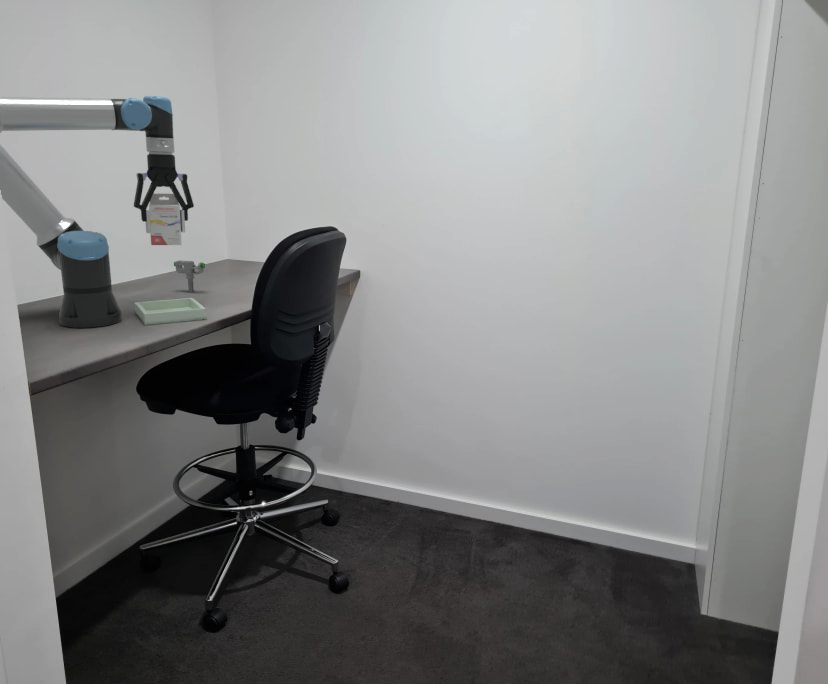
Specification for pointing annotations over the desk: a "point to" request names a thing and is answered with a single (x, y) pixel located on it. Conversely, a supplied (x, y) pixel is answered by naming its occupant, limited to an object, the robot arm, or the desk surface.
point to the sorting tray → (170, 311)
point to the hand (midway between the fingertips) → (165, 232)
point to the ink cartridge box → (165, 220)
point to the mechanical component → (189, 271)
